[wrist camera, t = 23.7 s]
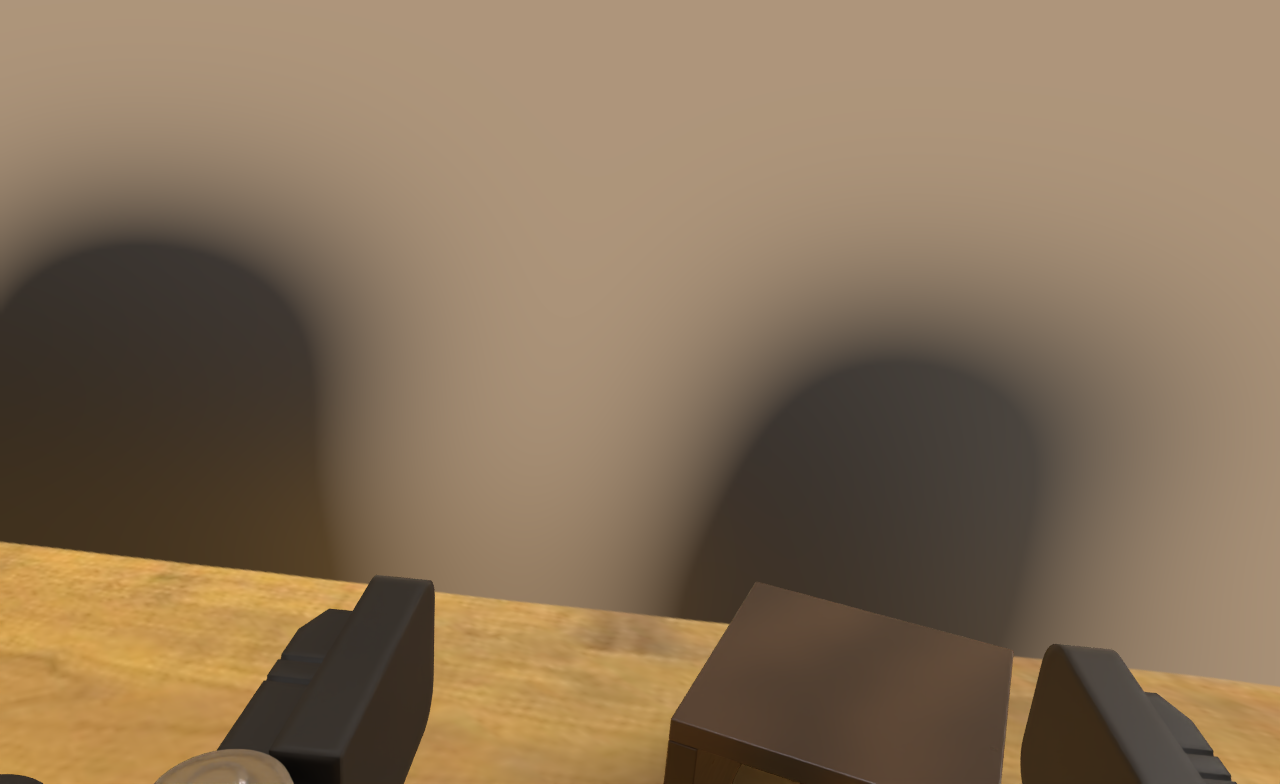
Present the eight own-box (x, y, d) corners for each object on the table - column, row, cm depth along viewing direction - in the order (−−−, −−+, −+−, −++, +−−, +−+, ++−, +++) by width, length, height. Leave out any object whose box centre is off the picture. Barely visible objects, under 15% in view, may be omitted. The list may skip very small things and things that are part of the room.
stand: (979, 795, 48) (1013, 649, 46) (954, 998, 38) (997, 823, 35) (736, 718, 52) (755, 580, 50) (651, 883, 42) (670, 718, 39)
